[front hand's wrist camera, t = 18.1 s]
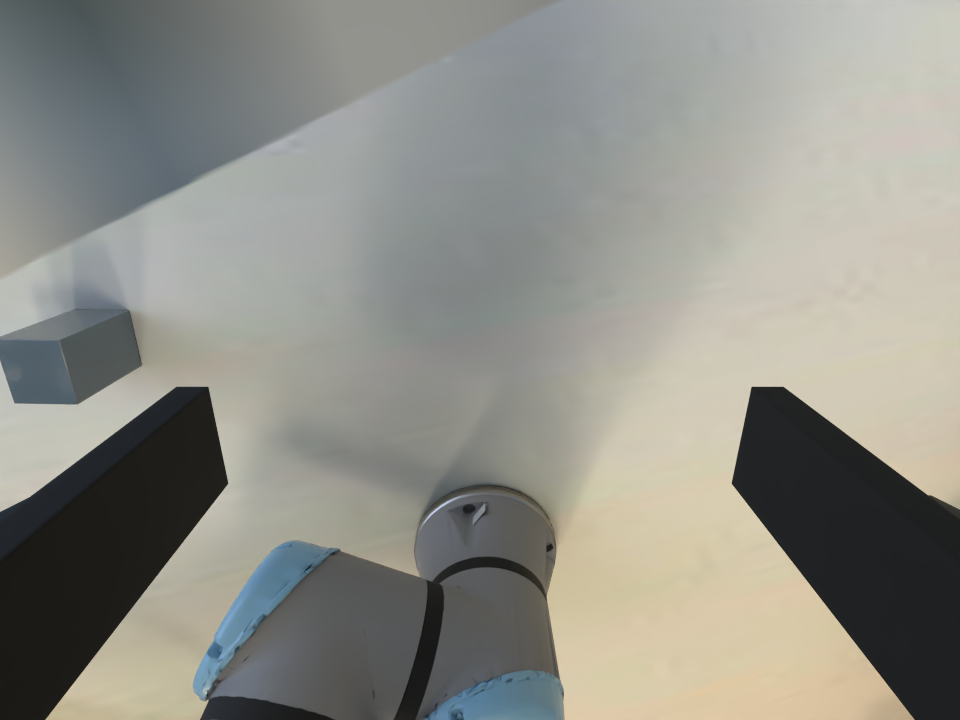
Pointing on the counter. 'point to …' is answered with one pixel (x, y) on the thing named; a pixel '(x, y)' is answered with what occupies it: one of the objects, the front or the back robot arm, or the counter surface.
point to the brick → (69, 356)
